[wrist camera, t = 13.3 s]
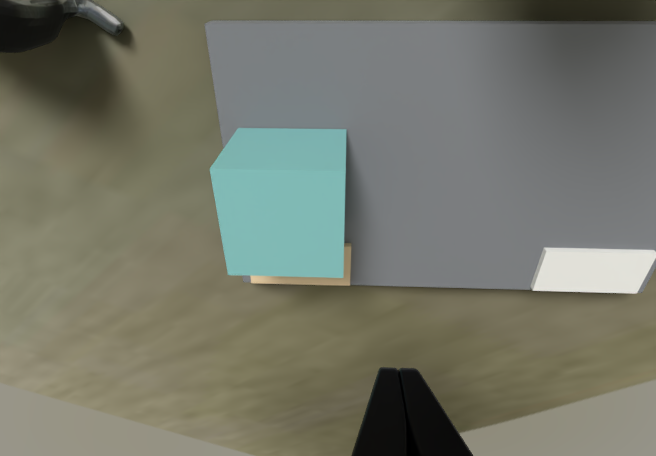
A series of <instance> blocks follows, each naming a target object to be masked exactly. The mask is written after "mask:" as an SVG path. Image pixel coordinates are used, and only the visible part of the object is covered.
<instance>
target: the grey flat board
mask: <svg viewBox="0 0 656 456" xmlns="http://www.w3.org/2000/svg"><path fill="white" fill-rule="evenodd" d="M205 30H206V37H207V43H208V50H209V56H210V63H211V70H212V76H213V83H214V90H215V96H216V103H217V110H218V116H219V123H220V130H221V136H222V143H223V149H224V148H225V146H226V145H227V143H228V142H229V140H230V139H231V137H232V136H233V135H234V133H235V132H236V130H237V129H238V128H290V129H347V130H346V179H345V225H344V271H343V278H326V277H287V276H249V275H242V276H243V282H251V283H264V284H302V285H339V286H350V285H371V286H408V287H446V288H483V289H521V290H532V291H562V292H599V293H642V292H643V290H644V288H645V286H646V284H647V283H648V281H649V279H650V277H651V275H652V273H653V272H654V270H655V268H656V21H210V22H208V23H205Z"/></svg>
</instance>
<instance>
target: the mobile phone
mask: <svg viewBox="0 0 656 456" xmlns="http://www.w3.org/2000/svg"><path fill="white" fill-rule="evenodd" d="M73 16H79V17H83V18H86V19H89V20H91V21H92V22H94V23H95V24H97V25H98V26H100V27H101V28H103V29H104V30H106V31H107V32H109V33H111V34H113V35H114V36H116V35H118V34H120V33H121V31H122V30H123V25H124V23H123V22H122V21H121V20H120V19H119V18H118V17H117V16H115V15H114V14H112V13H111V12H109V11H108V10H106V9H105V8H103V7H102V6H100V5H99V4H97V3H95V2H94V1H92V0H0V52H14V53H16V52H23V51H27V50H30V49H33V48H36V47H39V46H42V45H45V44H48V43H50V42H52V41H53V40H54V39H55V38H56V37H57V36H58V34H59V32H60V29H61V27H62V24H63V23H64V22H65V20H66V19H67V18H70V17H73Z"/></svg>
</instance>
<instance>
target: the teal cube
mask: <svg viewBox="0 0 656 456" xmlns="http://www.w3.org/2000/svg"><path fill="white" fill-rule="evenodd" d="M346 130H347V129H290V128H238V129H237V130H236V132H235V133H234V135H233V136H232V137H231V139H230V140H229V142H228V143H227V145H226V146H225V148H224V149H223V150H222V152H221V153H220V155H219V156H218V158H217V159H216V161H215V162H214V163H213V165H212V166H211V168H210V174H211V180H212V185H213V191H214V197H215V202H216V208H217V214H218V220H219V225H220V231H221V237H222V243H223V248H224V254H225V260H226V266H227V271H228V275H249V276H287V277H326V278H343V271H344V225H345V179H346Z"/></svg>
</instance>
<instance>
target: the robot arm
mask: <svg viewBox="0 0 656 456" xmlns="http://www.w3.org/2000/svg"><path fill="white" fill-rule="evenodd" d="M352 456H473V454H472V453H471V451H470V450H469V448H468V447H467V445H466V444H465V442H464V440H463V439H462V437H461V436H460V434H459V433H458V431H457V430H456V428H455V427H454V425H453V423H452V422H451V420H450V419H449V417H448V416H447V414H446V413H445V411H444V409H443V408H442V406H441V405H440V403H439V402H438V400H437V399H436V397H435V396H434V394H433V392H432V391H431V389H430V388H429V386H428V385H427V383H426V382H425V380H424V379H423V377H422V375H421V374H420V372H419V371H418V370H417V369H414V368H400V369H399V370H397V369H396V368H385V367H382V368H380V369H379V371H378V374H377V377H376V380H375V383H374V386H373V389H372V393H371V396H370V399H369V402H368V405H367V408H366V411H365V415H364V418H363V421H362V424H361V427H360V430H359V434H358V437H357V440H356V443H355V446H354V449H353V452H352Z"/></svg>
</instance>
